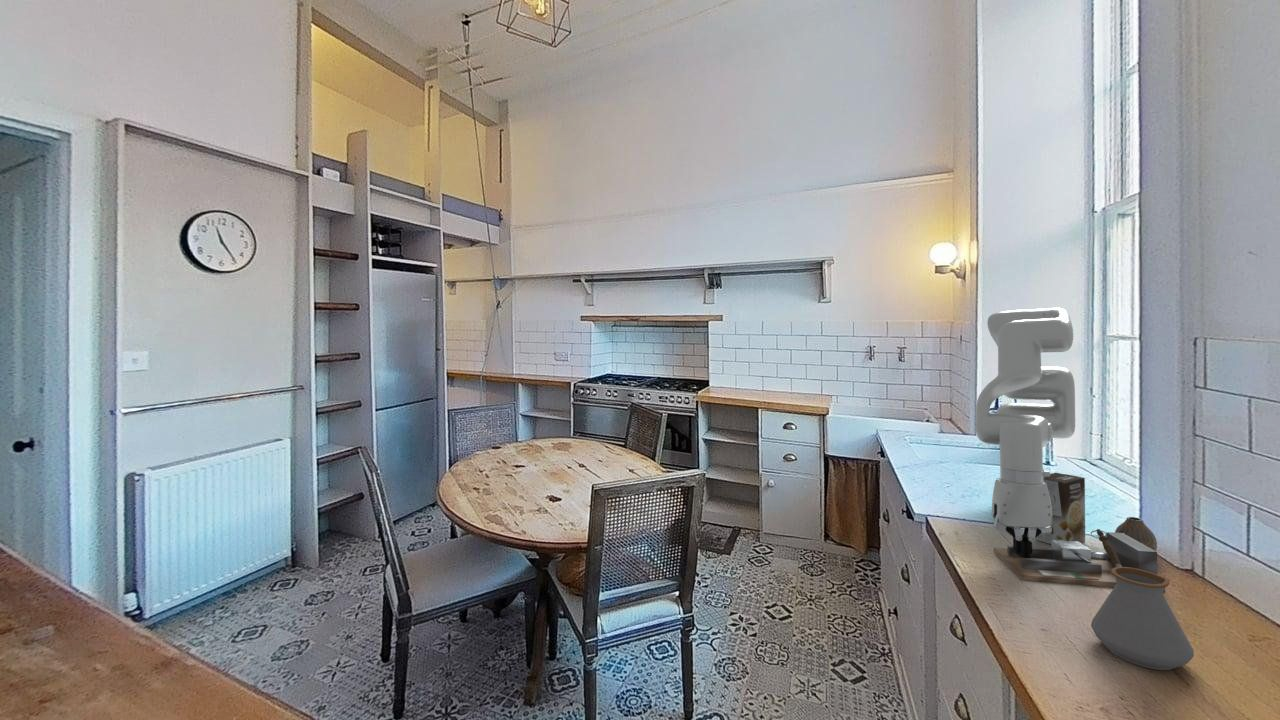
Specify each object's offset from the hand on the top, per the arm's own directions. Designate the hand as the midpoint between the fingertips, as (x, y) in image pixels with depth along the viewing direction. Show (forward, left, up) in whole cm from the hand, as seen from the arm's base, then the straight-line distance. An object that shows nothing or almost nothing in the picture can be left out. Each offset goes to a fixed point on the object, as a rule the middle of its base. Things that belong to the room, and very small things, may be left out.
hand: (1022, 556), depth 108 cm
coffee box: (-17, +15, -2) cm, 23 cm away
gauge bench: (0, +9, -2) cm, 9 cm away
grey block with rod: (+2, +12, -1) cm, 12 cm away
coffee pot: (+26, +4, -2) cm, 27 cm away
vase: (-10, +26, -2) cm, 28 cm away
